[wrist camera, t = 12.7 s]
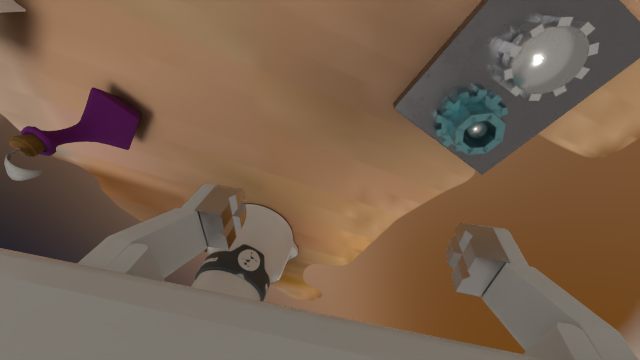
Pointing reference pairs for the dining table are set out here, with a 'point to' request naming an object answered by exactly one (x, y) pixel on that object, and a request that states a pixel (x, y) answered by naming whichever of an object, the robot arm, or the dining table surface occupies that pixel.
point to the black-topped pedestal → (10, 6)
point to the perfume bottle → (79, 131)
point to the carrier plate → (482, 55)
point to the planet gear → (471, 120)
